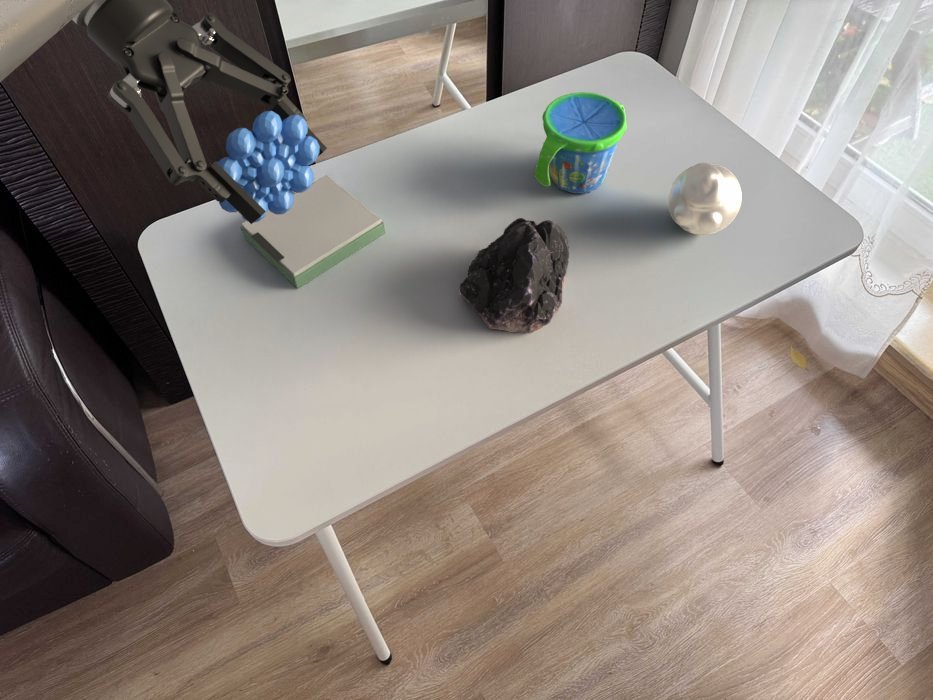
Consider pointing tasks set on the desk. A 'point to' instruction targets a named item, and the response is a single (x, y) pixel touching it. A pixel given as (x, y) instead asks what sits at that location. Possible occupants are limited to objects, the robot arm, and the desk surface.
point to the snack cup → (580, 141)
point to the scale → (314, 231)
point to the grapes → (271, 161)
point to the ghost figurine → (704, 198)
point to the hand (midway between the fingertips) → (290, 185)
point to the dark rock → (519, 277)
